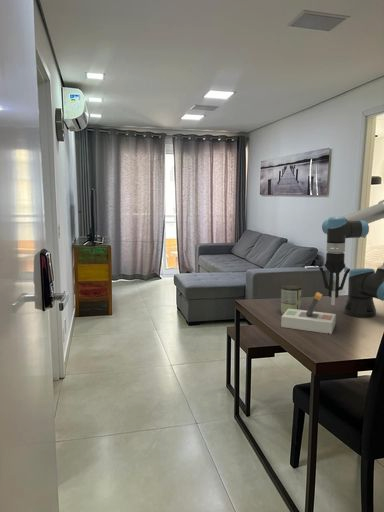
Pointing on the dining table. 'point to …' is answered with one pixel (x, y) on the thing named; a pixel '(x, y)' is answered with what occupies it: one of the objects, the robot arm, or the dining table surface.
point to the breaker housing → (308, 321)
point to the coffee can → (290, 297)
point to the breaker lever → (313, 304)
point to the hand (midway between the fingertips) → (333, 304)
